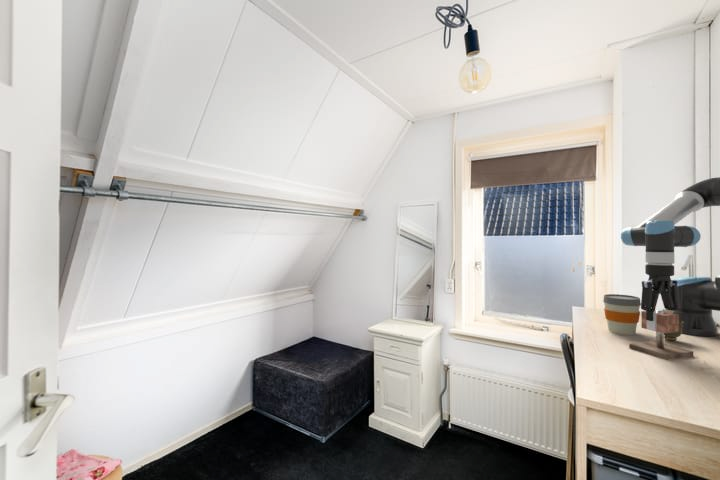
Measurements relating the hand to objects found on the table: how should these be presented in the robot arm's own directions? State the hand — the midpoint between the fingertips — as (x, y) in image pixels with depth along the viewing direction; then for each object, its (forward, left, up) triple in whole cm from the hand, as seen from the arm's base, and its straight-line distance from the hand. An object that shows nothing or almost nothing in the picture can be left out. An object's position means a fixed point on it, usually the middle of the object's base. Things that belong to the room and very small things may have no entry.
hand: (659, 328), depth 114 cm
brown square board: (0, 0, -8) cm, 8 cm away
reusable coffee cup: (-12, -22, -8) cm, 26 cm away
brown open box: (0, 0, 0) cm, 0 cm away
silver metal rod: (0, 0, -7) cm, 7 cm away
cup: (-18, -8, -8) cm, 21 cm away
